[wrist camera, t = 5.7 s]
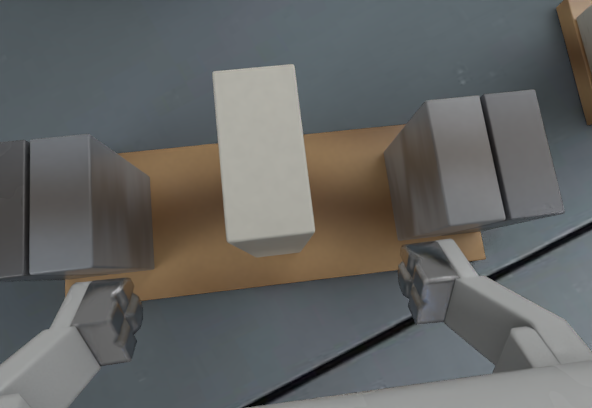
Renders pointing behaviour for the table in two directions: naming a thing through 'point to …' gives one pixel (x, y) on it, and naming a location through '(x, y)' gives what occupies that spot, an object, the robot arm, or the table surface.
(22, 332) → the table surface
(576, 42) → the white book rack
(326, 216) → the grey book rack
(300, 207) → the tall white book
